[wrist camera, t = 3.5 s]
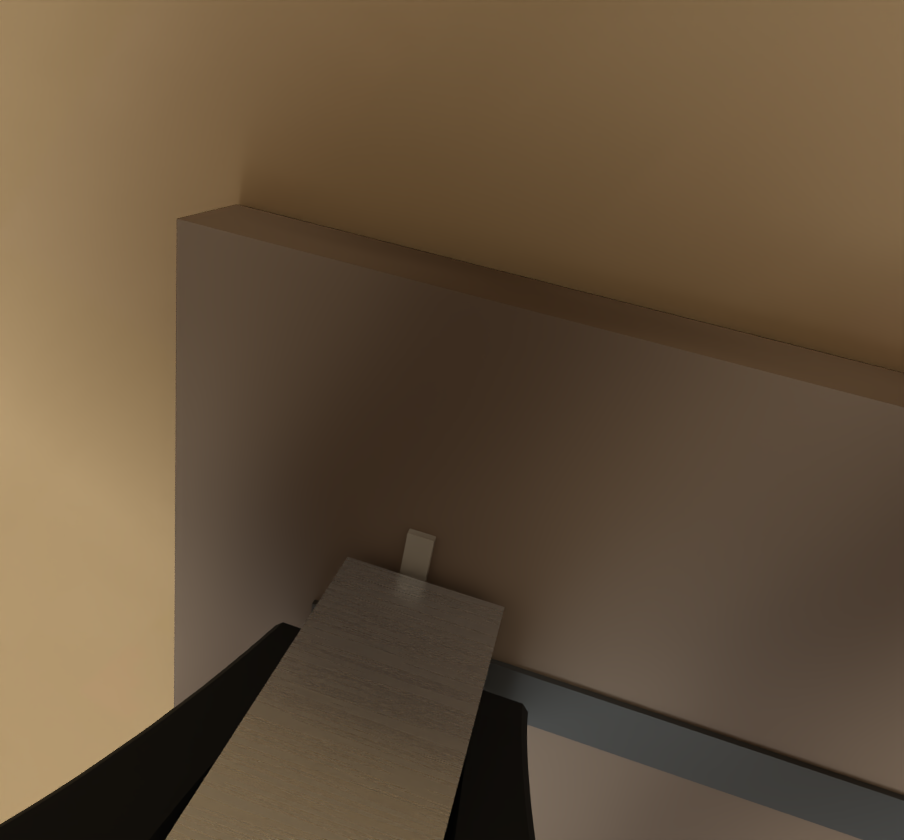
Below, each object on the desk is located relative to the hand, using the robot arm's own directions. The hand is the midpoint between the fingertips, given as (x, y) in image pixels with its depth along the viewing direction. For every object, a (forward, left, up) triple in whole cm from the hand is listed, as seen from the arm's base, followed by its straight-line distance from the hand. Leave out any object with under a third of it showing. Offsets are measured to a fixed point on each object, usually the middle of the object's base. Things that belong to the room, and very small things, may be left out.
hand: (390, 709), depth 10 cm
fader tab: (0, 0, -1) cm, 1 cm away
